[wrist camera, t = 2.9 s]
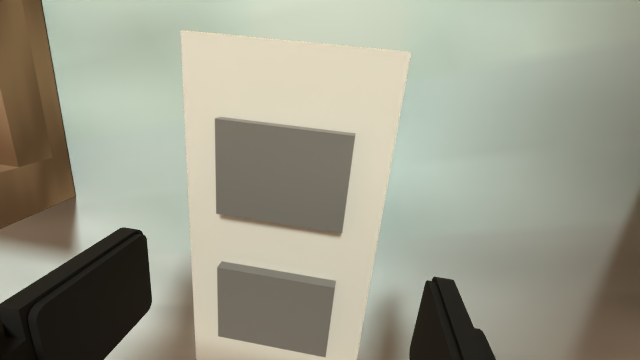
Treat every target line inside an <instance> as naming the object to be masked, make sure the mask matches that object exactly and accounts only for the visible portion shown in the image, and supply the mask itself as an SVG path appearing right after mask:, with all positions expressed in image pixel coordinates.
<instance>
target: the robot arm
mask: <svg viewBox="0 0 640 360" xmlns="http://www.w3.org/2000/svg"><path fill="white" fill-rule="evenodd" d="M151 303H152V295H151V284H150V272H149V260H148V249H147V239H146V236H145V235H143V233H142V231H140V230H137V229H130V228H120V229H118V230H117V231H115V232H113V233H112V234H110V235H109V236H107V237H106V238H104V239H102V240H101V241H99V242H98V243H96V244H94V245H93V246H91V247H90V248H88V249H86V250H85V251H83V252H82V253H80V254H78V255H77V256H75V257H74V258H72V259H71V260H69V261H67V262H66V263H64V264H63V265H61V266H59V267H58V268H56V269H55V270H53V271H51V272H50V273H48V274H47V275H45V276H44V277H42V278H40V279H39V280H37V281H36V282H34V283H32V284H31V285H29V286H28V287H26V288H24V289H23V290H21V291H20V292H18V293H16V294H15V295H13V296H12V297H10V298H9V299H7V300H5V301H4V302H2V303H1V304H0V360H104V359H105V358H106V356H107V355H108V354H109V353H110V352H111V351H112V350H113V349H114V348H115V347H116V346H117V344H118V343H119V342H120V341H121V340H122V339H123V338H124V337H125V336H126V335H127V334H128V332H129V331H130V330H131V329H132V328H133V327H134V326H135V325H136V324H137V323H138V322H139V321H140V319H141V318H142V317H143V316H144V315H145V314H146V313H147V312H148V310H149V309H150V306H151ZM410 360H496V359H495V357H494V354H493V352H492V350H491V348H490V346H489V343H488V341H487V339H486V337H485V335H484V333H483V331H481V330H480V329H476V328H474V327H473V324H472V322H471V320H470V317H469V315H468V313H467V310H466V308H465V305H464V303H463V301H462V298H461V296H460V294H459V291H458V289H457V287H456V284H455V282H454V280H451V279H445V278H439V277H433V279H432V281H428V280H427V281H426V283H425V287H424V291H423V295H422V299H421V304H420V308H419V312H418V316H417V320H416V325H415V329H414V333H413V337H412V341H411V346H410Z"/></svg>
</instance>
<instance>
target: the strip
mask: <svg viewBox="0 0 640 360" xmlns="http://www.w3.org/2000/svg"><path fill="white" fill-rule="evenodd" d="M181 49H182V70H183V91H184V113H185V134H186V155H187V176H188V198H189V219H190V240H191V261H192V283H193V304H194V325H195V347H196V360H357V355H358V349H359V344H360V338H361V333H362V327H363V321H364V316H365V310H366V304H367V299H368V293H369V287H370V282H371V276H372V270H373V265H374V259H375V254H376V248H377V242H378V237H379V231H380V225H381V220H382V214H383V208H384V203H385V197H386V191H387V186H388V180H389V175H390V169H391V163H392V158H393V152H394V146H395V141H396V135H397V129H398V124H399V118H400V113H401V107H402V101H403V96H404V90H405V84H406V79H407V73H408V67H409V62H410V56H411V52H408V51H398V50H387V49H376V48H366V47H355V46H345V45H334V44H323V43H313V42H302V41H292V40H281V39H270V38H260V37H249V36H239V35H228V34H218V33H207V32H196V31H186V30H181Z"/></svg>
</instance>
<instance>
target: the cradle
mask: <svg viewBox="0 0 640 360" xmlns="http://www.w3.org/2000/svg"><path fill="white" fill-rule="evenodd" d="M74 196H75V191H74V185H73V180H72V174H71V168H70V163H69V157H68V152H67V146H66V140H65V135H64V129H63V123H62V118H61V112H60V106H59V101H58V95H57V89H56V84H55V78H54V72H53V67H52V61H51V55H50V50H49V44H48V39H47V33H46V27H45V22H44V16H43V10H42V5H41V0H0V229H1V228H3V227H6V226H8V225H10V224H12V223H15V222H17V221H19V220H22V219H24V218H26V217H28V216H31V215H33V214H35V213H38V212H40V211H42V210H44V209H47V208H49V207H51V206H54V205H56V204H58V203H60V202H63V201H65V200H67V199H70V198H72V197H74Z"/></svg>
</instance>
